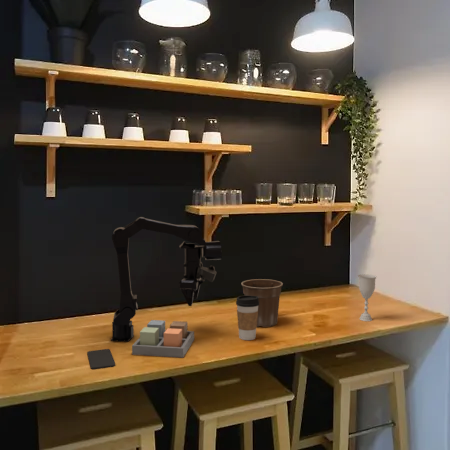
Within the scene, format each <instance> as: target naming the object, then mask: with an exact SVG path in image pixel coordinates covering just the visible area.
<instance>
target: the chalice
mask: <svg viewBox="0 0 450 450" xmlns="http://www.w3.org/2000/svg"><path fill="white" fill-rule="evenodd" d="M357 276H358V290H359V292H360V294H361V296H362V298H363V299H364V306H363V308H364V311H363V312H362V313H361V315H360V317H358V319H359V320H360V321H363V322H372V321H373V319H372V316H371V314H370V313H369V312H368V309H369V306H368V305H369V299H370V298H371V297H372V296H373V294H374V292H375V289H376V279H377V278H378V277H377V276H376V275H373V274H366V273H365V274H363V273H362V274H358V275H357Z"/></svg>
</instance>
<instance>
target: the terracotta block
mask: <svg viewBox="0 0 450 450" xmlns="http://www.w3.org/2000/svg"><path fill="white" fill-rule="evenodd" d="M165 330H166V331H165V332H164V346H168V347H181V346H182V329H172V328H170V327H167V329H165Z"/></svg>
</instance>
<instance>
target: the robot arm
mask: <svg viewBox="0 0 450 450" xmlns="http://www.w3.org/2000/svg"><path fill="white" fill-rule="evenodd" d="M142 230H146V231H152V232H155V233H160V234H164V235H171V236H175V237H178V238H180V239H182V240H184V241H182V243H181V244H179V248H180V250H182V249H184V263H183V268H184V274H183V279H181V280H180V281H179V282H178V289H179V290H180V291H181V292H182V295H183V297H184V299H185V300H186V303H187V306H188V307H192V306H193V301H195V300H197V299H198V296H199V292H200V288H201V285H202V284H203V283H204V282H205V280H207V281H208V282H209V283H210V282H211V283H213V282H214V281H215V278H216V275H217V271H216V269H215V266H214V265H210V266H209V267H205V266H203V262H202V260H201V259H202V258H204V259H205V261H212V260H213V261H217V260H218V261H219V260H222V256H223V251H222V245H221V241H219V240H214V241H206V239H204V238H203V237H202V230H201V229H200V228H199V227H197V226H196V225H195V224H173V223H169V222H164V221H161V220H154V219H150V218H145V217H144V216H140V217H137V218H136V219H135V220H133V221H132V222H130V223H128V224H126V225H125V226H123V227H122V226H120V227H116V228H115V229H114V231H113V233H112V234H111V239H112V244H113V246H114V247H113V248H114V250H115V253H116V256H117V266H118V267H117V268H118V269H117V270H118V278H119V289H120V298H119V308H118V309H117V310H116V311H115V312H114V314H113V318H112V323H111V325H112V326H111V327H112V329H111V330H112V331H111V332H112V337H111V338H110V341H112V342H127V343H128V342H129V341H130V340H131V339H132V338H134V336H135V334H134V333H135V331H134V324H133V320H132V319H133V318H134V317H135V316H136V313H137V311H138V309H139V307H138V306H139V305H138V303H137V299H138V298H137V296H138V295H137V294H133V291H132V286H131V285H132V283H131V275H130V264H129V262H130V261H129V245H130V244H129V243H130V238H132V237H133V236H135V235H136V234H138V232H140V231H142ZM186 241H187V242H188V243H187V242H186ZM195 243H196V244H198V245H196V244H195Z"/></svg>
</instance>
